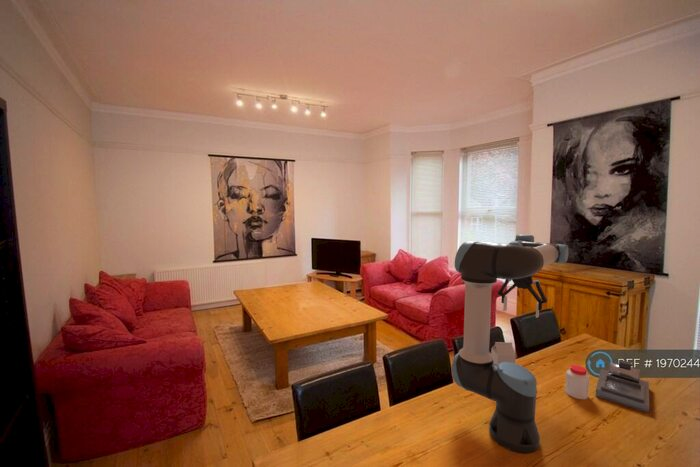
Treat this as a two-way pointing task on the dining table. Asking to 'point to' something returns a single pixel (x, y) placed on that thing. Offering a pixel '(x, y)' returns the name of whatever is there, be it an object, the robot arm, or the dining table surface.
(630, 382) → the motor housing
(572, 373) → the pill bottle
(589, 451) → the dining table surface
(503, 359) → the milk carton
